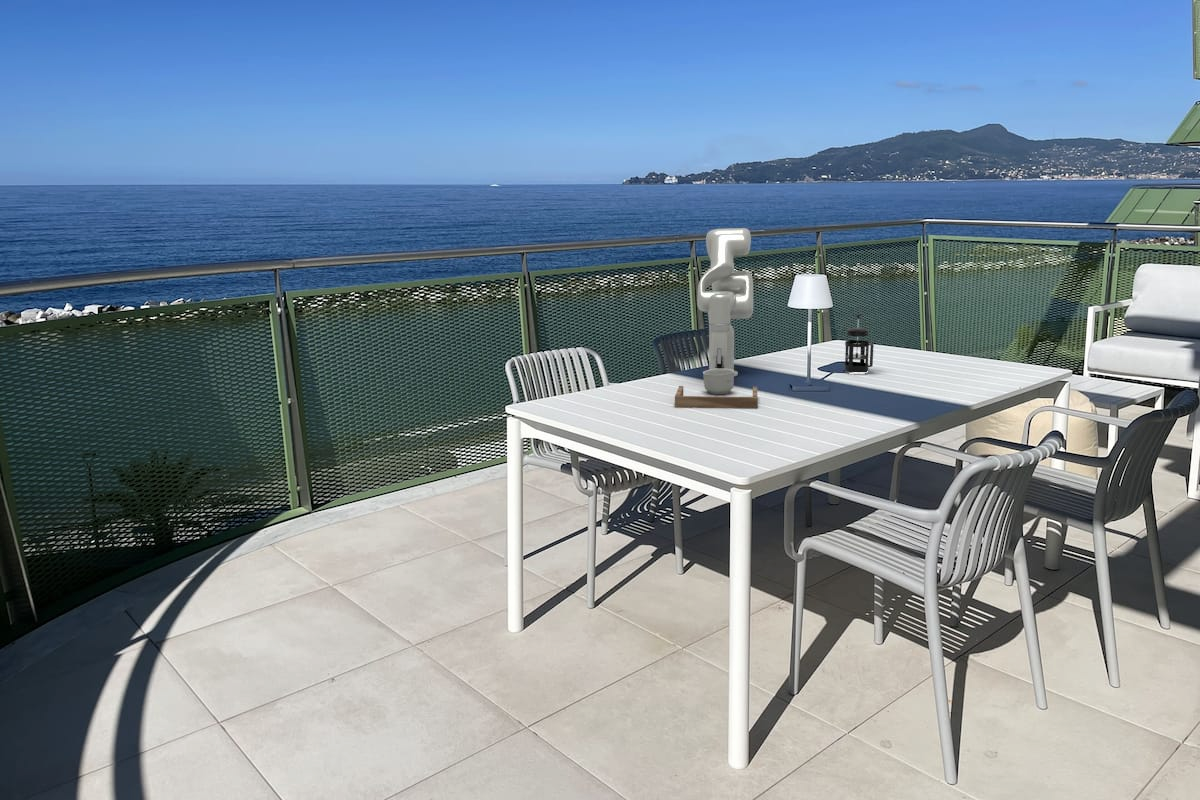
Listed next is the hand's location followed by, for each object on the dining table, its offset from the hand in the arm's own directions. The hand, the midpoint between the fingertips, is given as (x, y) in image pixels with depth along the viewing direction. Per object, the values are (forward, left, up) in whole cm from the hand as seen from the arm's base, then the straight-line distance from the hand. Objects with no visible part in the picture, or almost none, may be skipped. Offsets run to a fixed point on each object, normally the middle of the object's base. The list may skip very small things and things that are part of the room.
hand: (719, 377), depth 316 cm
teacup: (+9, 0, -4) cm, 10 cm away
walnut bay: (+24, 0, -3) cm, 25 cm away
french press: (-28, +52, -3) cm, 59 cm away
